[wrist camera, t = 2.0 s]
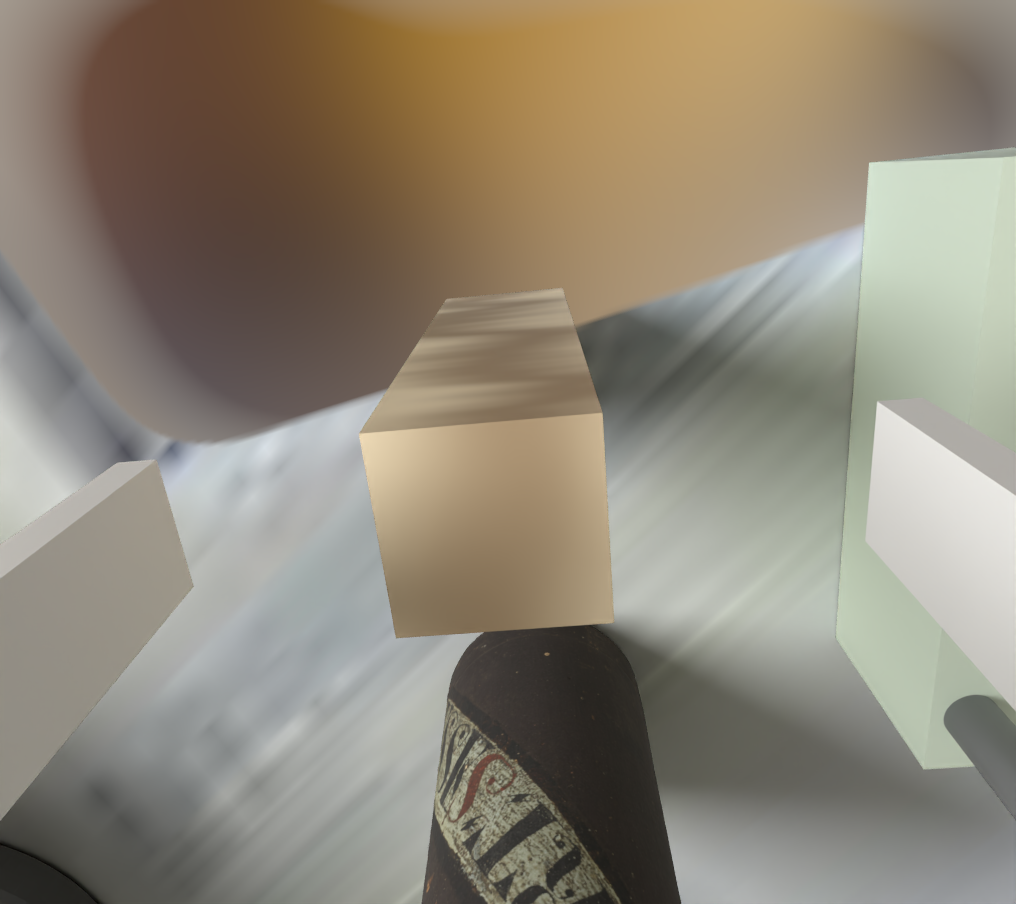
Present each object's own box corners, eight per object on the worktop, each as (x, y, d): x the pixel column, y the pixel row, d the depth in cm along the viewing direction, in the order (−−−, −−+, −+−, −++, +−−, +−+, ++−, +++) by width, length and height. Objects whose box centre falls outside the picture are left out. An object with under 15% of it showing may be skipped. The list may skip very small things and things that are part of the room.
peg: (460, 409, 26) (395, 637, 13) (446, 299, 25) (359, 433, 12) (570, 399, 26) (614, 623, 13) (562, 287, 25) (602, 412, 12)
